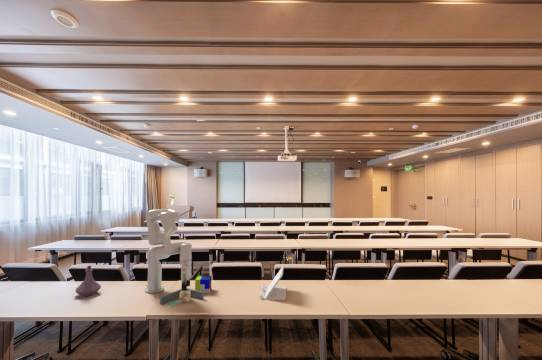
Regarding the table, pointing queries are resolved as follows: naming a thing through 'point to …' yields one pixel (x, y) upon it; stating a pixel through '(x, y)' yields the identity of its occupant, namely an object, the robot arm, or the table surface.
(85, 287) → the flask
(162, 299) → the arena
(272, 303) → the table surface
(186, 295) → the birch block
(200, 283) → the puzzle toy
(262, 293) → the tablet stand
